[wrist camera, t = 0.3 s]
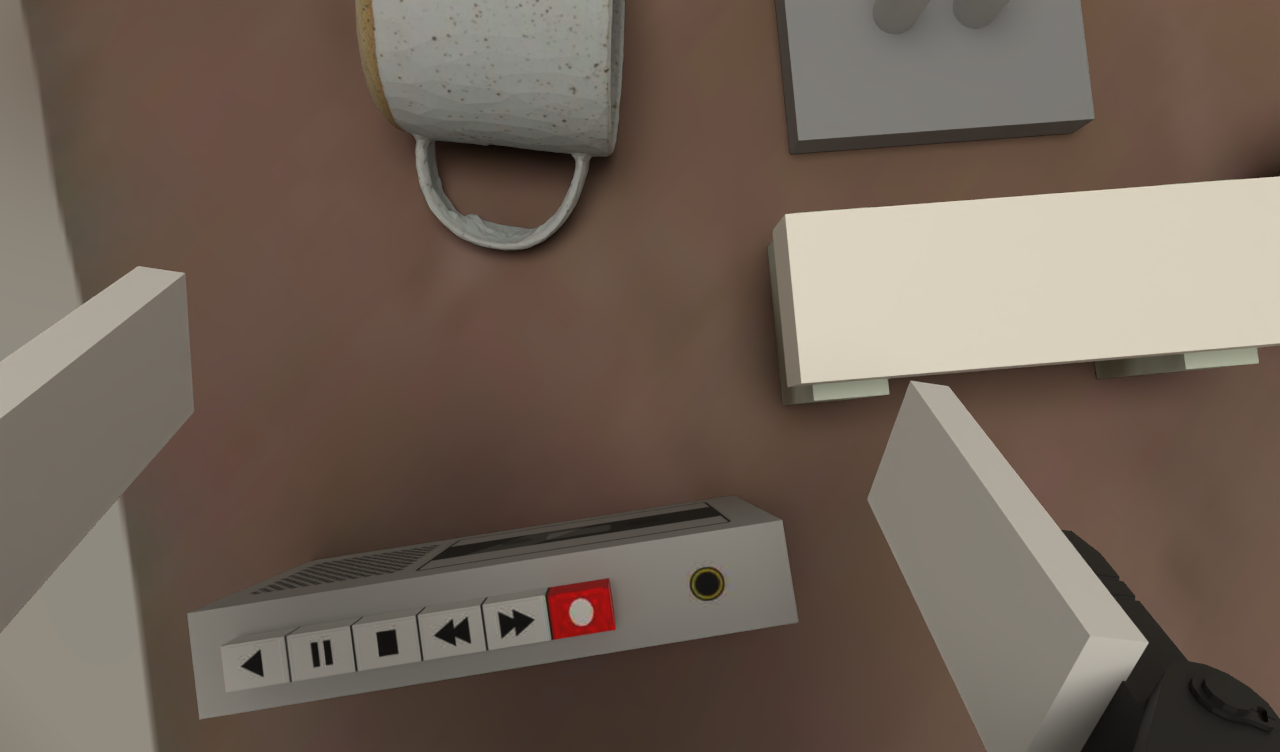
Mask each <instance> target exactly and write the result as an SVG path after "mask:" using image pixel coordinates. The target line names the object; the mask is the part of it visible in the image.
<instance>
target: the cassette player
mask: <svg viewBox="0 0 1280 752" xmlns="http://www.w3.org/2000/svg"><path fill="white" fill-rule="evenodd" d="M187 616H188V624H189V633H190V642H191V650H192V659H193V667H194V676H195V685H196V693H197V702H198V710H199V719H204V718H211V717H217V716H223V715H229V714H235V713H242V712H248V711H254V710H260V709H266V708H272V707H279V706H285V705H291V704H297V703H303V702H310V701H316V700H322V699H328V698H334V697H340V696H347V695H353V694H359V693H365V692H371V691H377V690H384V689H390V688H396V687H402V686H408V685H415V684H421V683H427V682H433V681H439V680H445V679H452V678H458V677H464V676H470V675H476V674H483V673H489V672H495V671H501V670H507V669H513V668H520V667H526V666H532V665H538V664H544V663H551V662H557V661H563V660H569V659H575V658H581V657H588V656H594V655H600V654H606V653H612V652H619V651H625V650H631V649H637V648H643V647H649V646H656V645H662V644H668V643H674V642H680V641H687V640H693V639H699V638H705V637H711V636H717V635H724V634H730V633H736V632H742V631H748V630H755V629H761V628H767V627H773V626H779V625H785V624H792V623H798V622H799V621H798V615H797V609H796V603H795V596H794V590H793V584H792V578H791V571H790V565H789V559H788V553H787V546H786V540H785V534H784V527H783V521H782V520H781V519H779V518H777V517H775V516H773V515H772V514H770V513H768V512H766V511H764V510H762V509H760V508H758V507H756V506H754V505H752V504H750V503H749V502H747V501H745V500H743V499H741V498H739V497H737V496H735V495H732V496H726V497H719V498H713V499H706V500H700V501H694V502H687V503H681V504H674V505H668V506H661V507H655V508H648V509H642V510H635V511H629V512H623V513H616V514H610V515H603V516H597V517H590V518H584V519H577V520H571V521H564V522H558V523H552V524H545V525H539V526H532V527H526V528H519V529H513V530H506V531H500V532H494V533H487V534H481V535H474V536H468V537H461V538H455V539H448V540H442V541H435V542H429V543H423V544H416V545H410V546H403V547H397V548H390V549H384V550H377V551H371V552H364V553H358V554H352V555H345V556H339V557H332V558H326V559H319V560H313V561H309V562H307V563H304V564H302V565H300V566H297V567H295V568H293V569H290V570H288V571H286V572H283V573H281V574H279V575H276V576H274V577H271V578H269V579H267V580H264V581H262V582H260V583H257V584H255V585H253V586H250V587H248V588H246V589H243V590H241V591H239V592H236V593H234V594H232V595H229V596H227V597H224V598H222V599H220V600H217V601H215V602H213V603H210V604H208V605H206V606H203V607H201V608H199V609H196V610H194V611H192V612H189V613H187Z"/></svg>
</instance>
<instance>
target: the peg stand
mask: <svg viewBox="0 0 1280 752" xmlns="http://www.w3.org/2000/svg"><path fill="white" fill-rule="evenodd" d="M775 7H776V17H777V27H778V38H779V48H780V58H781V68H782V78H783V89H784V99H785V109H786V119H787V129H788V140H789V150H790V154H798V153H811V152H825V151H838V150H852V149H865V148H879V147H892V146H906V145H919V144H933V143H946V142H960V141H974V140H987V139H1001V138H1014V137H1028V136H1041V135H1055V134H1068V133H1074V132H1075V131H1077V130H1078V129H1080V128H1081V127H1083V126H1084V125H1086V124H1087V123H1089V122H1091V121H1092V120H1094V119H1095V117H1094V109H1093V101H1092V93H1091V84H1090V76H1089V68H1088V60H1087V51H1086V43H1085V35H1084V27H1083V19H1082V10H1081V2H1080V0H775Z"/></svg>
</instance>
